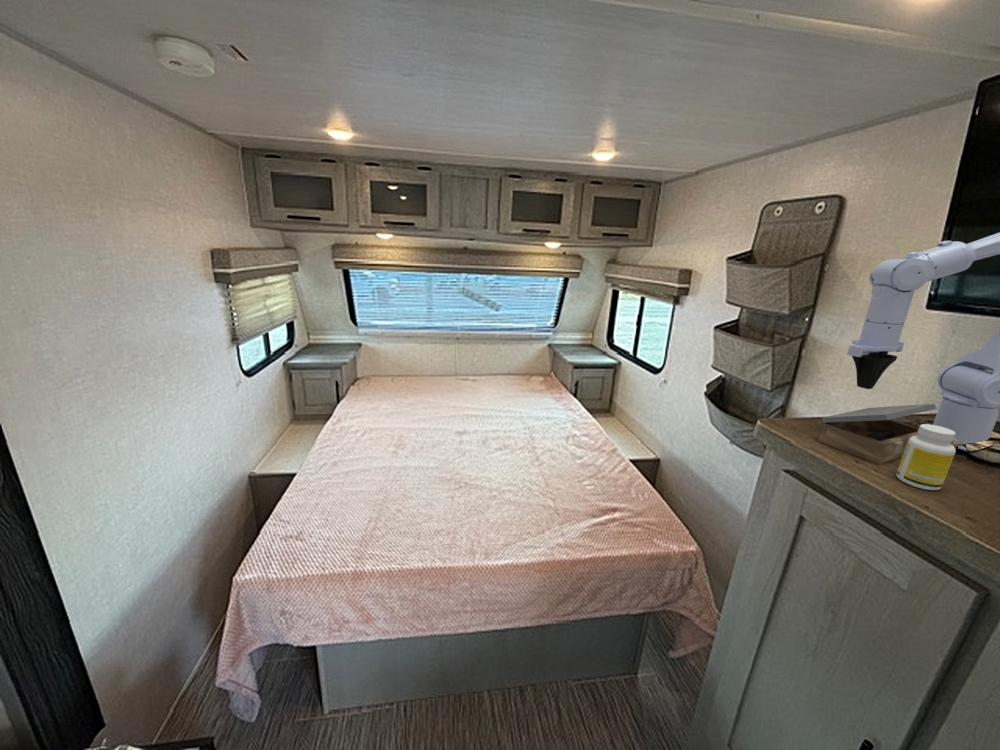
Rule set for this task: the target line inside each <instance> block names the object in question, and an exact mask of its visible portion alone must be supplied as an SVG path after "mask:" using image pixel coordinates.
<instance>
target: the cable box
mask: <svg viewBox="0 0 1000 750" xmlns="http://www.w3.org/2000/svg"><path fill="white" fill-rule="evenodd" d="M918 429H919V426H918V427H917V426H915V425H910V424H908V423H904V422H901V421H897V420H895V419H890V420H877V421H851V422H826V423H823V422H822V426H821V429H820V432H819V436H818V439H817V440H818V442H820V443H823V444H825V445H828V446H830V447H832V446H833V447H832V448H834V449H837V448H838V450H841V451H843V452H845V453H848V454H851V455H853V456H856V457H857V458H860V459H862V460H863V459H864V460H866V461H869V462H871V463H874V464H876V465H880V464H883V463H887V462H889V461H893V460H897V459H899V458H900V459H901V458H902V456H903V453H904V451H905V448H906V445H907V442H908V440H909V438H910V437H912V436H918V435H919V434H918V433H917V432H918Z"/></svg>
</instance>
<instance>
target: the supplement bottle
mask: <svg viewBox="0 0 1000 750" xmlns="http://www.w3.org/2000/svg"><path fill="white" fill-rule="evenodd" d="M918 428H919V429H918V432H917V433H918V434H919V435H918V436H912V437H910V438H909V440H908V442H907V445H906V448H905V451H904V453H903V456H902V457H901V458H900V459H901V460H900V462H899V464H898V465H899V466H898V468H897V470H896V474H895V475H896V477H897V479H898V480H900V481H901V482H903V483H905V484H907V485H910V486H911V487H915V488H919V489H921V490H922V489H923V490H929V491H938V490H940V489H942V487H943V485H944V483H945V480H946V477H947V476H948V473H949V470H950V468H951V465H952V462H953V460H954V458H955V456H956V455H955V454H956V453H957V451H956V449H957V448H956V447H954V446H953V445H951V444H950V442H952V441H953V440H954V437H955V434H956V433H955V432H954V431H952V430H950V429H947V428H944V427H940V426H936V425H933V424H929V423H923V424H920V425H919V426H918Z"/></svg>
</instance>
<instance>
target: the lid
mask: <svg viewBox="0 0 1000 750" xmlns="http://www.w3.org/2000/svg"><path fill="white" fill-rule="evenodd" d="M936 409H937V407H936V404H935V403H926V404H925V403H923V404H912V405H911V404H910V405H895V406H894V405H893V406H878V407H877V406H876V407H869V408H868V407H866V408H862V409H856V410H853V411H848V412H842V413H838V414H832V415H828V416H823V417H821V422H822V424H823V423H826V422H851V421H877V420H890V419H891V420H895V419H898V418H902V417H908V416H911V415H915V414H920V413H924V412H929V411H933V410H936Z"/></svg>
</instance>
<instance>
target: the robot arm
mask: <svg viewBox="0 0 1000 750" xmlns="http://www.w3.org/2000/svg"><path fill="white" fill-rule="evenodd" d="M997 255H998V256H999V255H1000V232H996V233H995V234H992V235H988V236H986V237H982V238H980V239H977V240H973V241H971V242H968V243H965V242H963V241H952V240H943V241H940V242H937V243H936V247H932V248H929V249H926V250H923V251H920V252H918V251H911V252H908V253H906V256H904V258H891V259H887V260H884V261H882V262H880V263H879V265H877V266H876V267H875V269H874V270H873V272H870V273H869V276H868V280H869V283H870V284H871V287H872V289H871V293H870V294H871V299H870V302H869V304H868V307H867V312H866V315H865V319H864V322H863V326H862V329H861V334H860V336H859V339H854V340H852V341H851V344H850V345H849V346H848V350H847V354H846V355H847V356H851V357H852V360H853V362H854V365H855V370H856V371H855V372H856V387H858V388H861V389H866V390H872V389H873V388H874V387H875V385H876V384H877V383H878V382H879V380H880V378H881V376H882V375H883V373H884V372H885V371H886V370H887V369H888V367H890V366H891V365H892V364H893V363H894V362H895V361H897V359H898V356H897V355H894V354H889V353H894V352H896V353H901V352H902V351H903V349H904V345H905V342H903V341H902V342H900V339H901V335H902V333H903V329H904V326H905V322H906V319H907V316H908V313H909V310H910V307H911V304H912V300H913V296H914V293H915V291H917V290H919V289H921V288H922V287H923V286H924V285H925V284H926V283H927V282H931V281H934V280H937V279H938V280H939V279H940V278H945V277H946V276H950V275H953V274H957V273H961V272H963V271H966V270H968V269H969V268H971V266H972V264H973V262H974V261H979V260H982V259H985V258H991V257H993V256H997ZM937 385H938V387H939V388H940V390H941V393H940V394H941V395H942V399H941V401H940V404H939V407H938V409H937V413H936V416H935V418H934V420H933V423H932V425H936V426H940V427H944V428H947V429H950V430H952V431H954V432H955V433H956V434H955V437H954V438H955V439H957V440H959V441H961V442H962V443H963V444H967V443H976V442H983V440H988V439H989V440H990V438H991V435H992V433H993V431H994V428H995V425H996V423H997V420H998V418H999V411H998V409H1000V327H998V328H997V330H995V332H994V333H993V334H992V335H991V337H990V338H989V339H988V340H987V341H986V342H985V344H983V346H982V347H981V348H980V349H978V350H976V351H974V352H970V353H967V354H964V355H961V356H960V357H958V359H957V360H956V361H955V362H954V363H952V364H951V365H948V366H947V367H945V368H943V370H941V371H940V373H939V375H938V377H937ZM989 440H988V441H989ZM957 449H960V450H962V451H966V452H968V451H967V450H966V448H965V447H964V446H958V448H957Z"/></svg>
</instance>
